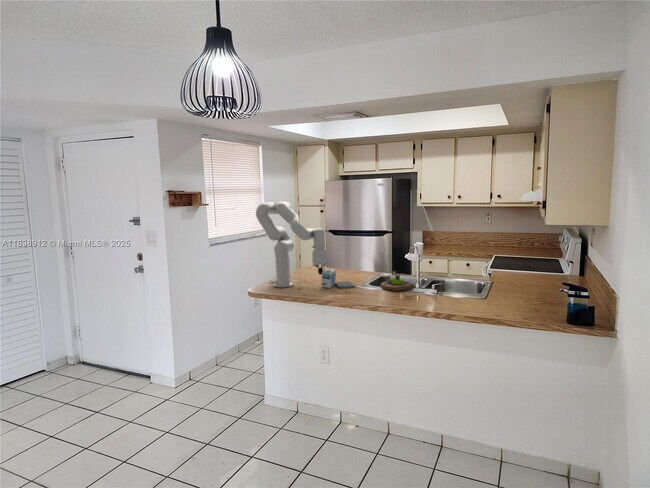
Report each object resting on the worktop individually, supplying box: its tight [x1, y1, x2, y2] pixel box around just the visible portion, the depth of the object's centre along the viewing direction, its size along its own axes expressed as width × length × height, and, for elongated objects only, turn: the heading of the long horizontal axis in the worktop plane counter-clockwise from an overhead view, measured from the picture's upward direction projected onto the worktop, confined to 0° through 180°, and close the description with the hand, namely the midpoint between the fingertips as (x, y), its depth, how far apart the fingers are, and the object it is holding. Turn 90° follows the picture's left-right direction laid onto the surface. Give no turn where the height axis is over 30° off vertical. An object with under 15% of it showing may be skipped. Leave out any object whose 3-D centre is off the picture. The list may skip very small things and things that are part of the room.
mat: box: [335, 280, 356, 290], centre depth 274 cm, size 11×16×2 cm
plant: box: [380, 270, 415, 292], centre depth 267 cm, size 20×20×11 cm
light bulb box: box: [321, 268, 337, 289], centre depth 272 cm, size 11×7×11 cm, turn 161°
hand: (320, 274), depth 271 cm, fingers closed
